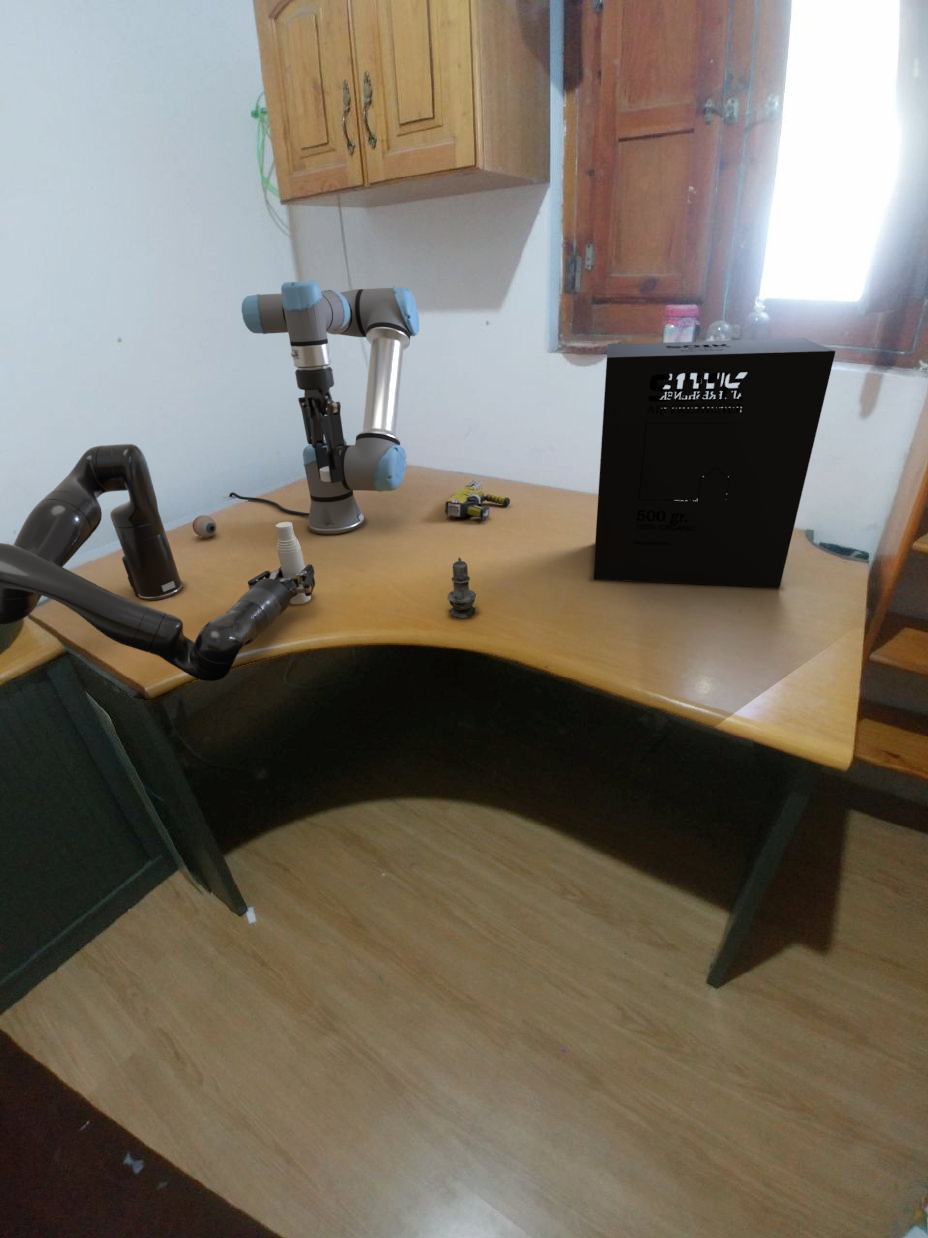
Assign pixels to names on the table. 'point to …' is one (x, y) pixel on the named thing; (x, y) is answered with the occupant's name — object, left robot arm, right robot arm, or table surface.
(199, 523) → the eyeball
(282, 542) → the bottle
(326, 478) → the cap
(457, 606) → the grey chess piece
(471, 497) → the toy gun
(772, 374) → the cardboard box
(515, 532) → the table surface
